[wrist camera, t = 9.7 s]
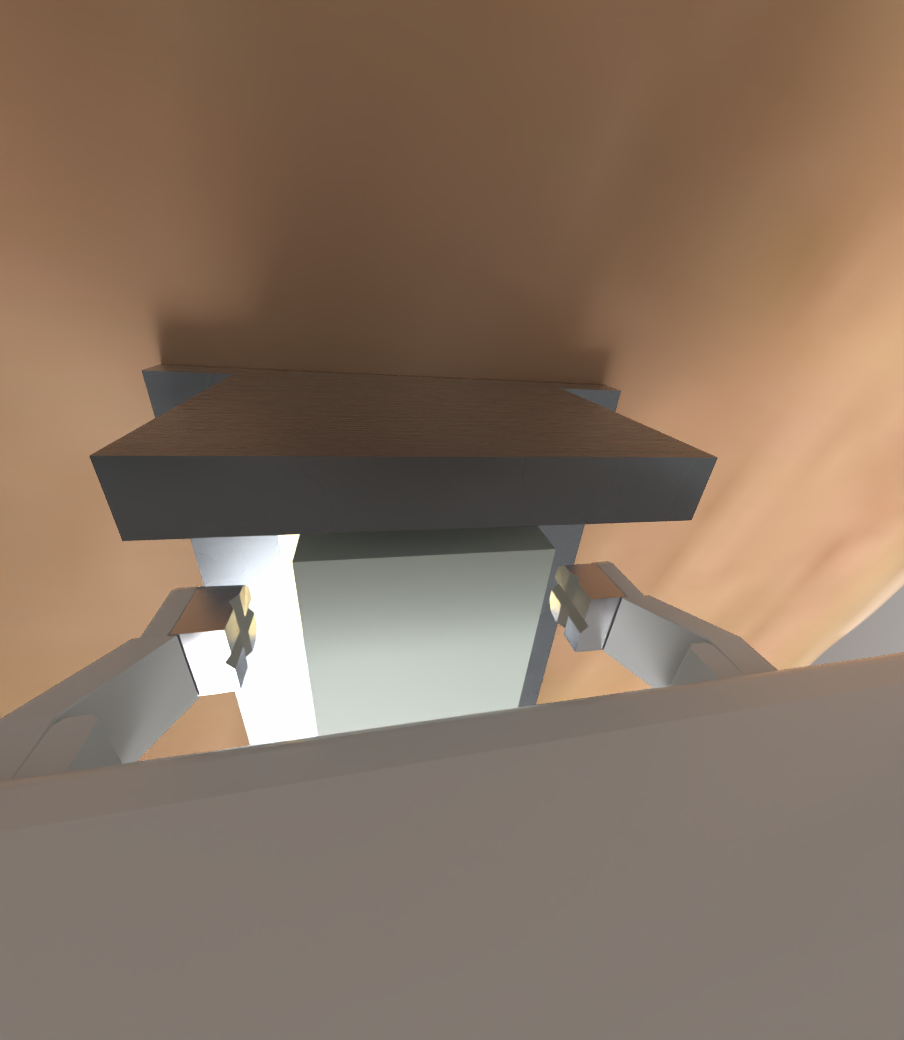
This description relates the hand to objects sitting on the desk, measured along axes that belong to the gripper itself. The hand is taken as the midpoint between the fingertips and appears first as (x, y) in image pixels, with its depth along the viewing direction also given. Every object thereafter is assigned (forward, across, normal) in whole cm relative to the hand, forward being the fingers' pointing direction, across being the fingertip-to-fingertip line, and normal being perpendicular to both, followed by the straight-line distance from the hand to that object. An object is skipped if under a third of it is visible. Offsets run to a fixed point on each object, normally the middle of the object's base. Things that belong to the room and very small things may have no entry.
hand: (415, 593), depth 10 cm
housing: (+3, 0, 0) cm, 3 cm away
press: (+4, 0, -9) cm, 10 cm away
